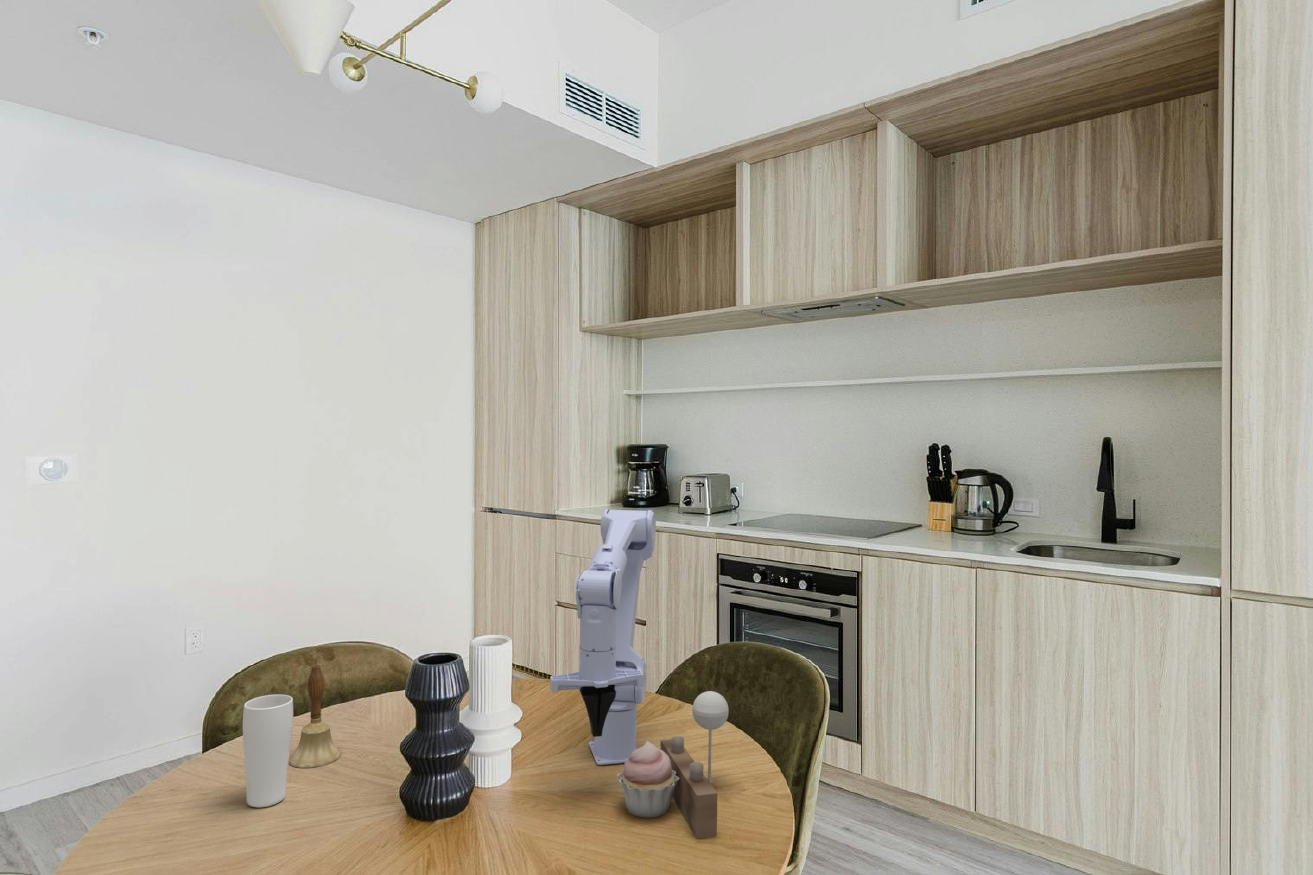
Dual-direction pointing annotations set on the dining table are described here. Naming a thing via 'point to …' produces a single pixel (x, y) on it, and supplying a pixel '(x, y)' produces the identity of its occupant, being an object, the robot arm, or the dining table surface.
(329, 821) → the dining table surface
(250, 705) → the drinking glass
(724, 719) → the lollipop
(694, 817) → the bar
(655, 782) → the cupcake
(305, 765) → the hand bell
